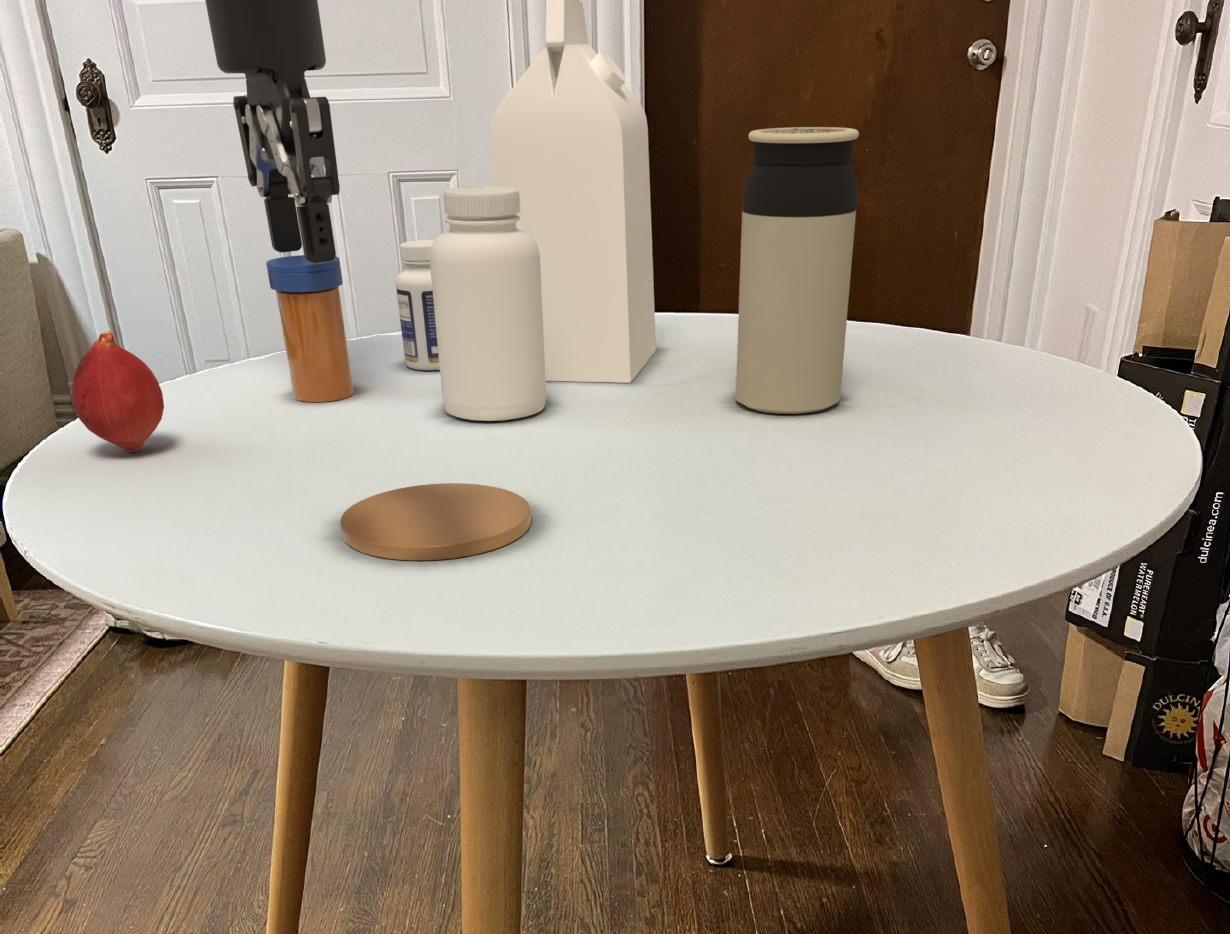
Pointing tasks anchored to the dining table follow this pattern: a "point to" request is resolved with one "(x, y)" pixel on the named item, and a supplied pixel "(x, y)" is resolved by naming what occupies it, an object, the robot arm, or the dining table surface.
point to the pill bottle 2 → (488, 307)
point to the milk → (582, 201)
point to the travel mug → (795, 268)
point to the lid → (303, 274)
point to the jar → (316, 344)
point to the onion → (117, 395)
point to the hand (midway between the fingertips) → (304, 255)
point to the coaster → (435, 521)
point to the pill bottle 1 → (417, 306)
